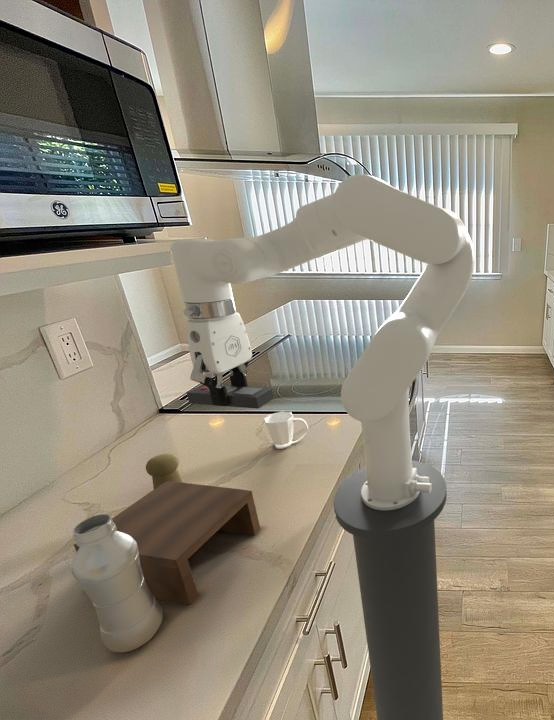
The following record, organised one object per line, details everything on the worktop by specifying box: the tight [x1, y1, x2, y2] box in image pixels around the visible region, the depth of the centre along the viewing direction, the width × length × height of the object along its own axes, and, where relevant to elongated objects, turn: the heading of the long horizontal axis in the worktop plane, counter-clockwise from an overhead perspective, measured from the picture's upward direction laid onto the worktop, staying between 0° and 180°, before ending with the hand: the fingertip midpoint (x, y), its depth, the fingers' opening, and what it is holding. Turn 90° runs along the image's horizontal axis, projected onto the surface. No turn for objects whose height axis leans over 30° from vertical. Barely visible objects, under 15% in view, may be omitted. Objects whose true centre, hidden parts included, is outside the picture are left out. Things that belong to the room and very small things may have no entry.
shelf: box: [73, 481, 261, 606], centre depth 68 cm, size 18×16×9 cm
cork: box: [145, 452, 186, 490], centre depth 81 cm, size 6×6×11 cm
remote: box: [186, 384, 274, 409], centre depth 78 cm, size 15×5×3 cm, turn 82°
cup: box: [263, 410, 309, 450], centre depth 103 cm, size 7×10×8 cm
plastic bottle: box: [71, 513, 163, 653], centre depth 53 cm, size 6×7×20 cm
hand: (231, 398), depth 78 cm, fingers closed on remote, 4 cm apart
